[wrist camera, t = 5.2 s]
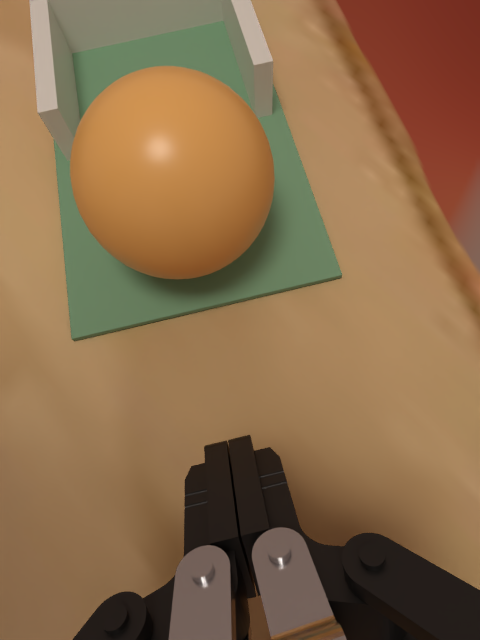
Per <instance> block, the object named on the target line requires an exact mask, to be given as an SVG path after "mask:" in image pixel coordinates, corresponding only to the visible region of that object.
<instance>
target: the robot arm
mask: <svg viewBox="0 0 480 640" xmlns="http://www.w3.org/2000/svg"><path fill="white" fill-rule="evenodd" d="M228 443H229V446H228ZM228 443H227V441H223V442H219V443H215V444H211V445H206V446H205V447H204V451H205V463H203V464H199V465H195V466H191V468H190V470H189V473H188V475H187V477H186V479H185V518H184V558H183V559H182V560H181V562H180V563H179V565H178V567H177V570H176V574H175V576H174V577H173V578H172V579H171V580H170V581H169V582H168V583H167V584H166V585H164V586H163V587H161V588H160V589H158V590H156V591H155V592H153V593H151V594H150V595H148V596H146V597H145V598H143V599H142V597H141V596H139V595H138V594H136V593H134V592H121V593H118V594H115V595H113V596H111V597H110V598H108V599H107V600H105V601H104V602H103V603H102V604H101V605H100V606H99V607H98V608H97V610H96V611H95V612H94V613H93V615H92V616H91V617H90V618H89V620H88V621H87V622H86V623H85V625H84V626H83V627H82V628H81V630H80V631H79V632H78V633H77V635H76V636H75V637H74V638H73V640H252V633H251V627H250V615H249V608H248V600H247V599H248V598H252V597H256V593H255V586H256V589H257V592H258V596H260V595H261V599H262V603H263V607H264V611H265V615H266V619H267V624H268V628H269V632H270V636H271V640H480V590H478V589H477V588H475V587H473V586H471V585H469V584H468V583H466V582H464V581H462V580H461V579H459V578H457V577H455V576H454V575H452V574H450V573H448V572H447V571H445V570H443V569H441V568H440V567H438V566H436V565H434V564H432V563H431V562H429V561H427V560H425V559H424V558H422V557H420V556H418V555H417V554H415V553H413V552H411V551H410V550H408V549H406V548H404V547H402V546H401V545H399V544H397V543H395V542H394V541H392V540H390V539H388V538H387V537H384V536H382V535H379V534H375V533H363V534H359V535H356V536H354V537H353V538H351V539H350V540H349V541H348V542H347V543H346V545H345V546H344V547H343V546H329V545H323V544H320V543H317V542H315V541H313V540H312V539H310V538H309V537H308V536H306V535H305V533H304V532H303V531H302V529H301V528H300V525H299V522H298V519H297V515H296V512H295V508H294V505H293V502H292V498H291V495H290V491H289V488H288V484H287V481H286V477H285V474H284V471H283V467H282V464H281V460H280V457H279V456H278V455H277V454H276V453H275V452H274V451H273V450H272V449H271V448H270V447H269V448H265V449H260V450H256V451H254V449H253V444H252V440H251V436H250V435H247V436H243V437H239V438H235V439H231V440H228ZM253 579H254V580H253ZM254 582H255V586H254Z"/></svg>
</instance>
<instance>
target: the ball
mask: <svg viewBox="0 0 480 640" xmlns="http://www.w3.org/2000/svg"><path fill="white" fill-rule="evenodd" d="M70 177H71V185H72V190H73V196H74V199H75V202H76V205H77V207H78V210H79V213H80V215H81V217H82V219H83V220H84V222H85V224H86V226H87V227H88V229H89V231H90V233H91V234H92V235H93V236H94V238H95V239H96V240H97V241H98V242H99V244H100V245H101V246H102V247H103V248H104V249H105V250H106V251H107V252H108V253H109V254H111V255H112V256H113V257H114V258H116V259H117V260H119V261H120V262H122V263H123V264H125V265H126V266H128V267H130V268H132V269H134V270H136V271H138V272H141V273H144V274H147V275H150V276H153V277H158V278H163V279H191V278H197V277H201V276H205V275H208V274H211V273H213V272H216V271H218V270H220V269H222V268H224V267H225V266H227V265H229V264H230V263H232V262H233V261H234V260H236V259H237V258H238V257H240V256H241V255H242V254H243V253H244V252H245V251H246V250H247V249H248V248H249V247H250V245H251V244H252V243H253V242H254V240H255V239H256V238H257V236H258V235H259V233H260V231H261V229H262V228H263V226H264V224H265V221H266V219H267V217H268V214H269V211H270V208H271V204H272V200H273V193H274V183H275V176H274V162H273V157H272V153H271V149H270V145H269V141H268V138H267V136H266V134H265V131H264V129H263V127H262V125H261V123H260V121H259V120H258V118H257V117H256V115H255V113H254V112H253V111H252V109H251V108H250V107H249V105H248V104H247V103H246V102H245V101H244V100H243V99H242V98H241V97H240V96H239V95H238V94H237V93H236V92H235V91H233V90H232V89H231V88H230V87H229V86H227V85H226V84H224V83H223V82H221V81H219V80H218V79H216V78H214V77H212V76H210V75H208V74H206V73H203V72H200V71H197V70H193V69H189V68H184V67H178V66H155V67H149V68H145V69H141V70H137V71H135V72H132V73H129V74H127V75H125V76H123V77H121V78H120V79H118V80H116V81H115V82H113V83H112V84H111V85H109V86H108V87H107V88H106V89H104V90H103V91H102V92H101V93H100V94H99V95H98V96H97V97H96V98H95V99H94V101H93V102H92V103H91V104H90V106H89V107H88V109H87V110H86V112H85V114H84V115H83V117H82V119H81V121H80V123H79V125H78V127H77V131H76V134H75V137H74V141H73V144H72V150H71V158H70Z"/></svg>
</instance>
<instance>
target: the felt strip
mask: <svg viewBox="0 0 480 640" xmlns="http://www.w3.org/2000/svg"><path fill="white" fill-rule="evenodd" d="M72 57H73V65H74V73H75V81H76V90H77V98H78V106H79V114H80V121H81V119H82V117H83V115H84V114H85V112H86V110H87V109H88V107H89V106H90V104H91V103H92V102H93V101H94V99H95V98H96V97H97V96H98V95H99V94H100V93H101V92H102V91H103V90H104V89H106V88H107V87H108V86H109V85H111V84H112V83H113V82H115V81H116V80H118V79H120V78H121V77H123V76H125V75H127V74H129V73H132V72H135V71H137V70H141V69H145V68H149V67H155V66H178V67H184V68H189V69H193V70H197V71H200V72H203V73H206V74H208V75H210V76H212V77H214V78H216V79H218V80H219V81H221V82H223V83H224V84H226V85H227V86H229V87H230V88H231V89H232V90H233V91H235V92H236V93H237V94H238V95H239V96H240V97H241V98H242V99H243V100H244V101H245V102H246V103H247V104H248V105H249V107H250V108H251V109H252V107H251V104H250V101H249V98H248V94H247V91H246V88H245V85H244V82H243V79H242V76H241V73H240V70H239V67H238V64H237V61H236V58H235V55H234V52H233V48H232V45H231V42H230V39H229V36H228V33H227V30H226V27H225V24H224V21H220V22H215V23H211V24H206V25H201V26H197V27H192V28H188V29H183V30H178V31H174V32H169V33H165V34H160V35H155V36H151V37H146V38H141V39H137V40H132V41H128V42H123V43H118V44H114V45H109V46H105V47H100V48H95V49H91V50H86V51H82V52H77V53H72ZM252 111H253V110H252ZM258 120H259V121H260V123H261V125H262V127H263V129H264V131H265V134H266V136H267V138H268V141H269V145H270V149H271V153H272V157H273V162H274V176H275V183H274V193H273V200H272V204H271V208H270V211H269V214H268V217H267V219H266V221H265V224H264V226H263V228H262V229H261V231H260V233H259V235H258V236H257V238H256V239H255V240H254V242H253V243H252V244H251V245H250V247H249V248H248V249H247V250H246V251H245V252H244V253H243V254H242V255H241V256H240V257H238V258H237V259H236V260H234V261H233V262H232V263H230V264H229V265H227V266H225V267H224V268H222V269H220V270H218V271H216V272H213V273H211V274H208V275H205V276H201V277H197V278H191V279H163V278H158V277H153V276H150V275H147V274H144V273H141V272H138V271H136V270H134V269H132V268H130V267H128V266H126V265H125V264H123V263H122V262H120V261H119V260H117V259H116V258H114V257H113V256H112V255H111V254H109V253H108V252H107V251H106V250H105V249H104V248H103V247H102V246H101V245H100V244H99V242H98V241H97V240H96V239H95V238H94V236H93V235H92V234H91V233H90V231H89V229H88V227H87V226H86V224H85V222H84V220H83V219H82V217H81V215H80V213H79V210H78V207H77V205H76V202H75V199H74V196H73V190H72V185H71V177H70V160H68V161H67V159H66V158H65V156H64V154H63V153H62V151H61V149H60V148H59V146H58V145H57V143H56V141H55V140H54V148H55V159H56V170H57V181H58V193H59V204H60V215H61V226H62V237H63V249H64V260H65V271H66V282H67V293H68V305H69V316H70V327H71V338H72V340H74V341H77V340H81V339H86V338H90V337H94V336H98V335H103V334H107V333H111V332H115V331H119V330H124V329H128V328H132V327H136V326H141V325H145V324H149V323H153V322H157V321H162V320H166V319H170V318H174V317H179V316H183V315H187V314H191V313H195V312H200V311H204V310H208V309H212V308H217V307H221V306H225V305H229V304H233V303H238V302H242V301H246V300H250V299H255V298H259V297H263V296H267V295H271V294H276V293H280V292H284V291H288V290H293V289H297V288H301V287H305V286H309V285H314V284H318V283H322V282H326V281H331V280H335V279H339V278H341V277H342V273H341V270H340V267H339V265H338V262H337V259H336V256H335V254H334V251H333V248H332V245H331V243H330V240H329V237H328V234H327V231H326V229H325V226H324V223H323V220H322V218H321V215H320V212H319V209H318V207H317V204H316V201H315V198H314V196H313V193H312V190H311V187H310V184H309V182H308V179H307V176H306V173H305V171H304V168H303V165H302V162H301V160H300V157H299V154H298V151H297V148H296V146H295V143H294V140H293V137H292V135H291V132H290V129H289V126H288V124H287V121H286V118H285V115H284V113H283V110H282V107H281V104H280V101H279V99H278V96H277V93H276V90H275V88H274V85H273V97H272V115H269V116H264V117H260V118H258Z"/></svg>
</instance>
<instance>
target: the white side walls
mask: <svg viewBox="0 0 480 640" xmlns="http://www.w3.org/2000/svg"><path fill="white" fill-rule="evenodd" d="M30 14H31V27H32V41H33V55H34V68H35V82H36V96H37V109H38V114H39V116H40V117H41V119H42V120H43V122H44V124H45V125H46V127H47V129H48V130H49V132H50V133H51V135H52V137H53V138H54V140H55V141H56V143H57V145H58V146H59V148H60V149H61V151H62V153H63V154H64V156H65V158H66V159H67V161H68V160H70V158H71V150H72V144H73V141H74V137H75V134H76V131H77V127H78V125H79V123H80V114H79V106H78V98H77V90H76V81H75V73H74V65H73V57H72V53H77V52H82V51H86V50H91V49H95V48H100V47H105V46H109V45H114V44H118V43H123V42H128V41H132V40H137V39H141V38H146V37H151V36H155V35H160V34H165V33H169V32H174V31H178V30H183V29H188V28H192V27H197V26H201V25H206V24H211V23H215V22H220V21H224V24H225V27H226V30H227V33H228V36H229V39H230V42H231V45H232V48H233V52H234V55H235V58H236V61H237V64H238V67H239V70H240V73H241V76H242V79H243V82H244V85H245V88H246V91H247V94H248V98H249V101H250V104H251V107H252V110H253V112H254V113H255V115H256V117H257V118H260V117H264V116H269V115H272V97H273V59H272V57H271V54H270V51H269V49H268V46H267V43H266V40H265V38H264V35H263V32H262V30H261V27H260V24H259V22H258V19H257V16H256V14H255V11H254V8H253V6H252V3H251V0H30Z"/></svg>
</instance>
